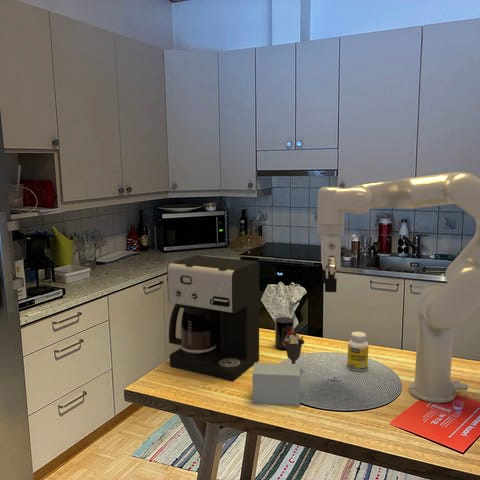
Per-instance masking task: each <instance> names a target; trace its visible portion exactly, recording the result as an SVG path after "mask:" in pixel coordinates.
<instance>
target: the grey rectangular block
mask: <svg viewBox="0 0 480 480" xmlns="http://www.w3.org/2000/svg"><path fill="white" fill-rule="evenodd" d="M252 369H253V370H252V404H256V405H275V406H276V405H277V406H279V405H281V406H301V372H300V369H301V364H300V363H295V364H292V363H279V362H278V363H276V362H256V363H254V365H253V368H252Z"/></svg>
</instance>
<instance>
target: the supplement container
mask: <svg viewBox="0 0 480 480" xmlns="http://www.w3.org/2000/svg"><path fill="white" fill-rule="evenodd" d="M274 321H275V322H274V323H275V326H274V327H275V328H274V331H275V332H274V335H275V336H274V338H275V339H274V342H275V343H274V344H275V345H274V346H275V348H276V349H277V350H281V351H286V344H285V343H284V341H283V340H284V339H285V338H286V336H287V335H288V332H289V329H290V328H291V329H290V332H291V330H292V331H295V329H294V326H295V319H294V318H293V317H290V316H289V317H287V316H279V317H276V318H275V320H274ZM287 326H289V327H290V328H288V327H287Z"/></svg>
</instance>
